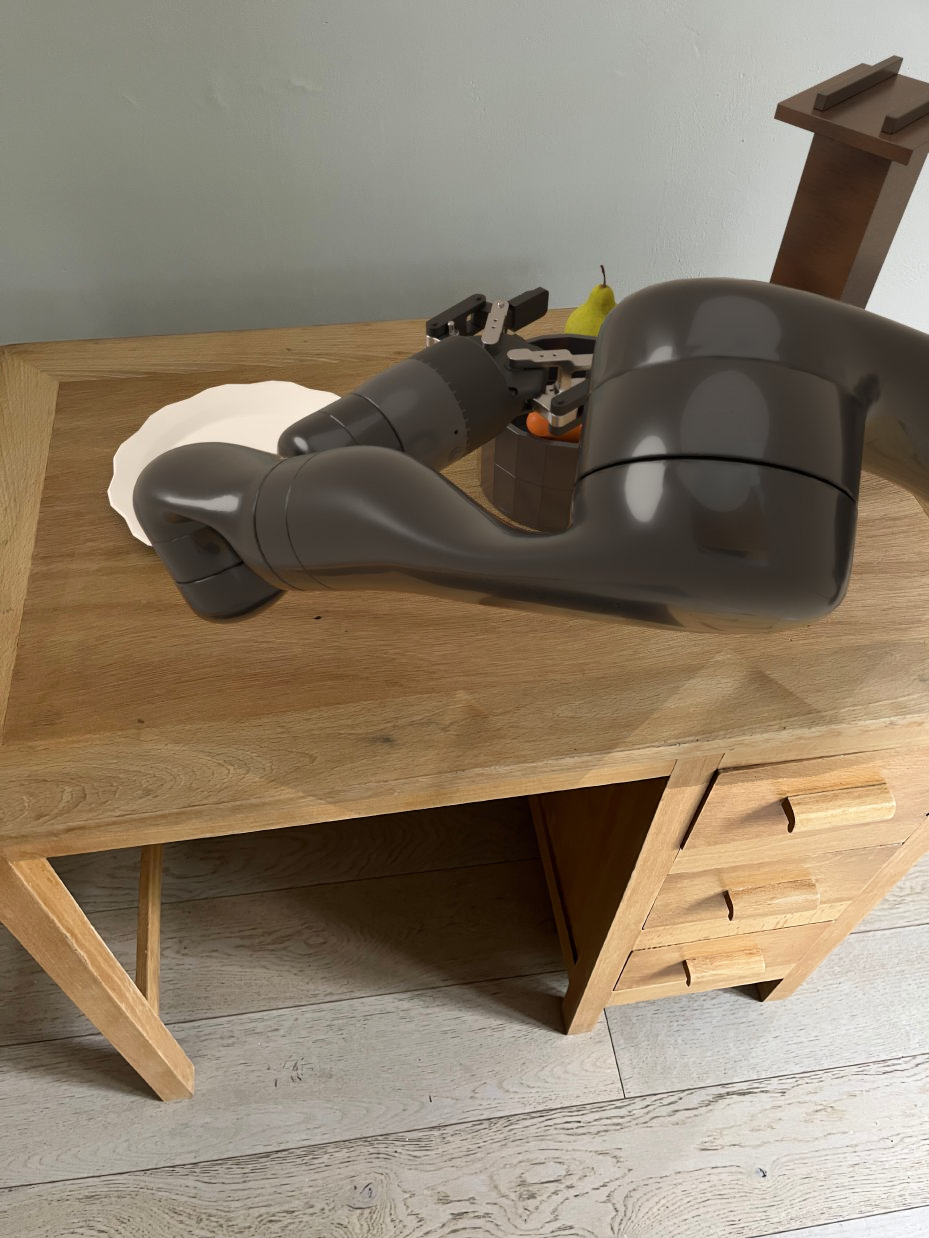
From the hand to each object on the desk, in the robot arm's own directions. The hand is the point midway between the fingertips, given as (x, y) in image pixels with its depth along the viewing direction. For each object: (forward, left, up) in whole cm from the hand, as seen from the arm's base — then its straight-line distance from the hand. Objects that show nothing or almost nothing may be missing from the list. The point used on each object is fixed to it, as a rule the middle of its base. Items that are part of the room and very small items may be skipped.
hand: (586, 322), depth 65 cm
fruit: (+13, -19, -19) cm, 30 cm away
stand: (-9, -18, -19) cm, 28 cm away
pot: (+3, -3, -19) cm, 20 cm away
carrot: (0, -1, -14) cm, 14 cm away
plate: (+23, +19, -19) cm, 35 cm away
